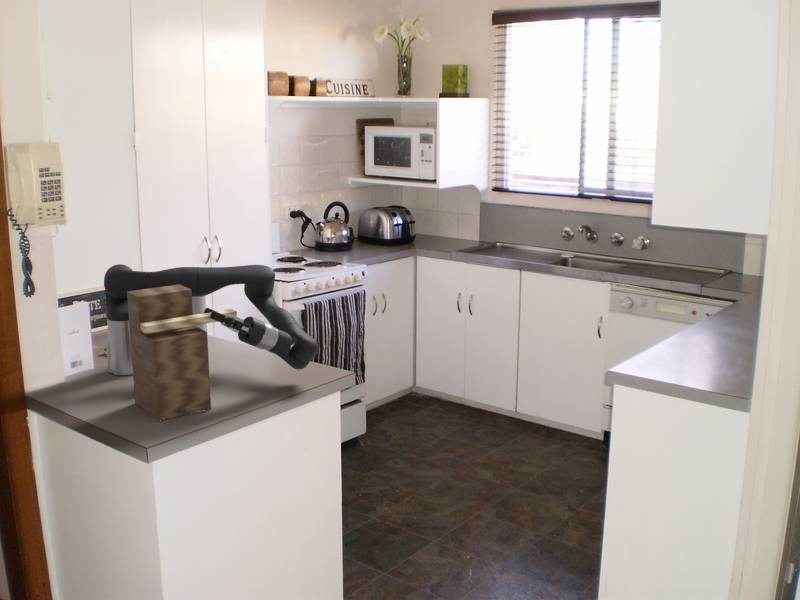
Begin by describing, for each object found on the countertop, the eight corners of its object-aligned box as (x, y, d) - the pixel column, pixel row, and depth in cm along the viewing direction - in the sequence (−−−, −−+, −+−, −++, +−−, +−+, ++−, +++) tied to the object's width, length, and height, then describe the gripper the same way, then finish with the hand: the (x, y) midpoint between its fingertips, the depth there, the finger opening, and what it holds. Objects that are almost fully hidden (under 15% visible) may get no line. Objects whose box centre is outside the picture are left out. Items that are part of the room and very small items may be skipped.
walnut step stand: (185, 392, 247) (179, 284, 240) (211, 409, 234) (205, 295, 226) (135, 403, 238) (126, 291, 231) (158, 421, 225) (150, 303, 218)
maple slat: (231, 315, 239) (230, 308, 239) (236, 318, 237) (236, 311, 236) (140, 330, 224) (140, 323, 224) (145, 333, 221) (145, 326, 221)
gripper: (252, 316, 249) (203, 295, 239) (276, 327, 238) (225, 305, 228) (241, 340, 249) (191, 319, 238) (264, 351, 238) (213, 330, 227)
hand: (208, 312), depth 233 cm, fingers closed on maple slat, 3 cm apart
